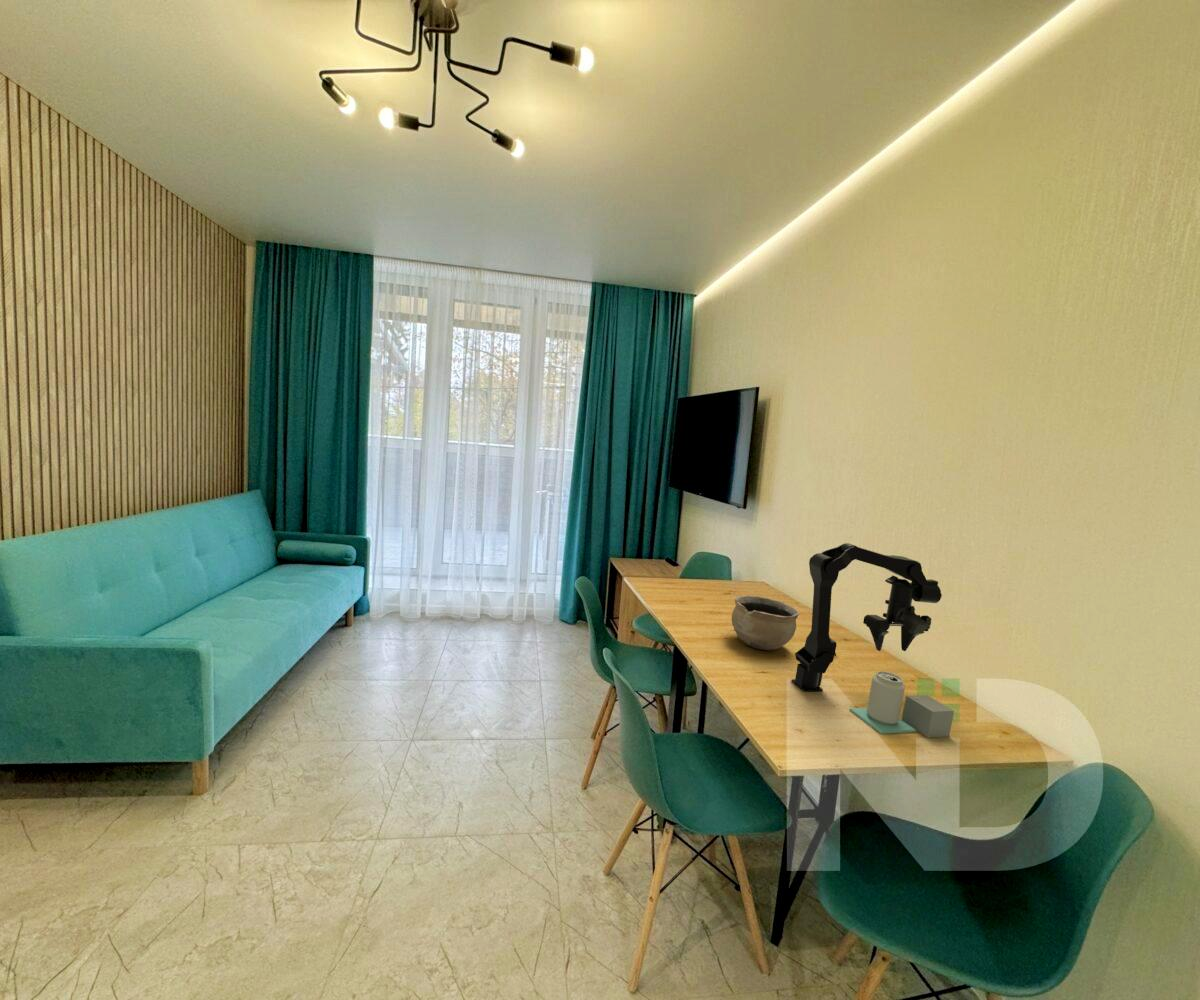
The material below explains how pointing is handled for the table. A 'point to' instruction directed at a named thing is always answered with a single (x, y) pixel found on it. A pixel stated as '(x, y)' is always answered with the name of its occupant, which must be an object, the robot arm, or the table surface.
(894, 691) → the can
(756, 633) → the ceramic bowl
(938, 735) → the unit
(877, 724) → the mat
